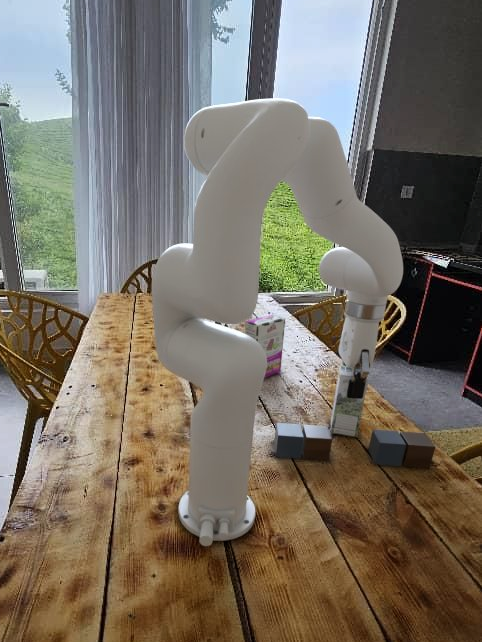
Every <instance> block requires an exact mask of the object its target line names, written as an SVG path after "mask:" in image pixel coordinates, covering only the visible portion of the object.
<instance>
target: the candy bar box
mask: <svg viewBox="0 0 482 642" xmlns="http://www.w3.org/2000/svg"><path fill="white" fill-rule="evenodd" d="M285 327H286V318H285V317H282V316H279V315H276V314H270V315H267V316H262V317H258V318H253V319H250V320H249V319H248V320H246V321H245V328H244V333H245V334H247V335H249V336H250V337H252V338H254V339H255V340H256V341H257V342H259V344H260V345H261V346H262V347H263V349H264V351H265V353H266V357H267V368H266V373H265V377H264V379H266V378H268V377H272V376H274V375H276V374H279V373H281V370H282V369H281V368H282V360H283V359H282V358H283V348H284V337H285Z"/></svg>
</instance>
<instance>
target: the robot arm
mask: <svg viewBox="0 0 482 642" xmlns="http://www.w3.org/2000/svg"><path fill="white" fill-rule="evenodd" d="M191 116H192V117H191V118H190V119H189V120H188V122H187V124H186V127H185V130H184V135H183V147H184V152H185V155H186V157H187V160H188V161H189V163H190V165H191V166H192V167H193V168H194V169H195V170H196V171H198V172H199V173H200V174H202V175H204V176H206V178H205V179H204V182H203V183H202V184H201V187H200V189H199V191H198V194H197V196H196V200H195V205H194V208H193V229H192V243H189V242H187V243H186V242H185V243H177V244H174V245H172V246H169V247H167V249H165V250H164V251H163V252H162V254H160V256H159V257H158V259H157V262H156V264H155V266H154V269H153V272H152V278H151V302H152V304H151V305H152V317H153V332H154V344H155V351H156V354H157V358H158V360H159V363H160V364H161V365H162V366H163V367H164V369H165V370H167V371H168V372H170V373H172V374H173V375H175V376H177V377H179V378H181V379H182V380H184V381H187V382H189V383H192V384H193V385H194V386H196V387H198V388H199V389H201V391H202V397H201V398H200V399H199V401H198V402H197V403H196V405H195V406H194V408H193V409H192V412H191V415H190V421H189V422H190V425H189V426H190V427H189V431H190V432H189V460H188V463H189V464H188V470H189V471H188V491H186V492H185V493H184V494H183V495H182V497H180V500H179V504H178V508H177V509H178V511H177V512H178V513H177V514H178V519H179V520H180V522H181V525H183V527H184V528H185V529H186V530H187V531H188V532H189V533H191V534H193V535H195V536H196V537H198V538H199V539H198V540H199V541H198V542H199V544H200V545H201V546H203V547H210V546H211V545H212V544H213V541H214V542H215V541H217V542H225V541H230V540H234V539H238V538H239V537H242V536H243V535H245V534H246V533H248V532H249V531H250V530H251V529H252V527H253V525H254V523H255V519H256V506H255V504H254V502H253V500H252V498H251V497H250V496H249V495H248V493H249V482H250V471H251V461H252V449H253V438H254V428H255V427H254V426H255V417H256V411H257V404H258V401H259V397H260V392H261V390H262V386H263V383H264V380H265V378H264V377H265V373H266V368H267V357H266V353H265V351H264V349H263V347H262V346H261V345H260V344H259V342H257V341H256V340H255V339H254V338H252V337H250V336H249V335H247V334H245V332H243V331H240V330H237V329H234V328H231V327H228V326H226V325H239V324H242V323H244V322H245V323H246V321H249V319H250V318H251V317H252V316H253V314H254V313H255V310H256V308H257V303H258V299H259V288H260V287H259V286H260V264H261V263H260V262H261V240H262V239H261V237H262V236H261V235H262V226H263V217H264V214H265V213H264V212H265V209H266V207H267V204H268V202H269V200H270V199H271V196H272V195H273V193H274V190H276V188H277V187H278V185H279V184H280V183H285V184H287V185H288V186H289V188H290V190H291V193H292V195H293V196H294V199H295V202H296V204H297V206H298V209H299V211H300V213H301V215H302V218H303V221H304V223H305V225H306V226H307V228H309V229H310V231H311V232H313V233H315V234H316V235H318V236H319V237H322V238H324V239H325V240H326V241H329V242H331V243H333V244H336V245H338V246H339V247H334V248H331V249H330V250H328V251H327V252H326V253H324V255H323V256H322V258H321V259H320V262H319V264H318V275H319V277H320V279H321V281H322V283H324V284H326V285H327V286H329V287H332V288H335V289H339V290H344V291H347V294H346V301H345V308H344V317H345V318H344V323H343V326H342V332H341V336H340V340H339V344H338V355H339V356H340V358H341V365H342V366H347V367H348V368H351V367H352V375H351V379H349V385H348V390H347V397H348V398H356V399H362V398H363V394H364V389H365V384H366V381H367V377H368V378H369V375H370V369H371V368H372V367H373V364H374V360H375V356H376V351H377V342H378V336H379V335H378V334H379V326H380V324H379V323H380V322H382V321H384V317H385V312H386V306H387V302H388V298H389V296H390V295H392V294H393V293H395V292H396V291H397V290H398V288H399V287H400V285H401V283H402V280H403V275H404V261H403V256H402V251H401V247H400V243H399V239H398V237H397V234H396V233H395V231H394V230H393V229H392V228H391V226H390V225H389V224H387V222H385V221H384V220H383V218H381V216H379V215H378V214H377V213H376V212H374V211H373V210H372V209H371V208H370V207H369V206H368V205H366V204H365V203H363V202H362V201H361V200H360V199H359V198H358V195H357V191H356V187H355V185H354V181H353V178H352V175H351V172H350V168H349V165H348V161H347V157H346V154H345V151H344V148H343V144H342V140H341V138H340V135H339V132H338V131H337V128H336V127H335V126H334V124H332V122H330V120H327V119H325V118H322V117H317V116H309V115H308V112H307V111H306V109H305V108H304V106H303V105H302V104H300V103H299V102H297V101H295V100H292V99H289V98H261V99H260V98H259V99H252V100H251V99H250V100H245V101H239V102H235V103H233V102H232V103H223V104H216V105H215V104H214V105H210V106H206V107H203V108H201V109H200V110H198V111H196V112H195V113H194V114H193V115H191ZM223 324H225V325H223ZM357 364H360V365H357ZM356 369H361V370H360V372H358V373H357V374H356Z"/></svg>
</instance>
